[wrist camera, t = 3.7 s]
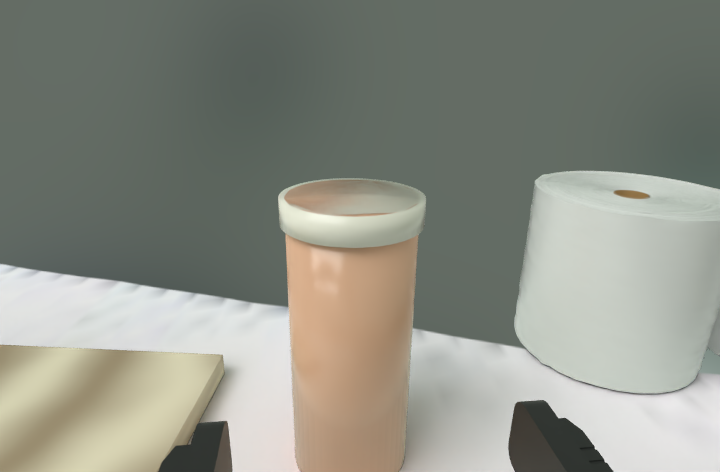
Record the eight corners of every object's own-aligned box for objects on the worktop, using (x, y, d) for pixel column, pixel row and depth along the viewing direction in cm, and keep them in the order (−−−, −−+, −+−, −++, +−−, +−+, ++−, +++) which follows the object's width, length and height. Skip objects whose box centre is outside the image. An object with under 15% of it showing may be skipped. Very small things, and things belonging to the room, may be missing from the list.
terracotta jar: (279, 495, 19) (261, 215, 15) (301, 405, 24) (293, 176, 20) (411, 503, 19) (432, 220, 15) (406, 410, 24) (421, 180, 20)
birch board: (-267, 574, 16) (-284, 549, 16) (3, 362, 27) (-3, 344, 27) (105, 600, 15) (98, 575, 15) (224, 372, 27) (222, 354, 26)
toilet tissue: (499, 298, 36) (516, 167, 32) (664, 306, 35) (701, 173, 31) (536, 390, 26) (567, 215, 22) (769, 405, 25) (840, 226, 21)
